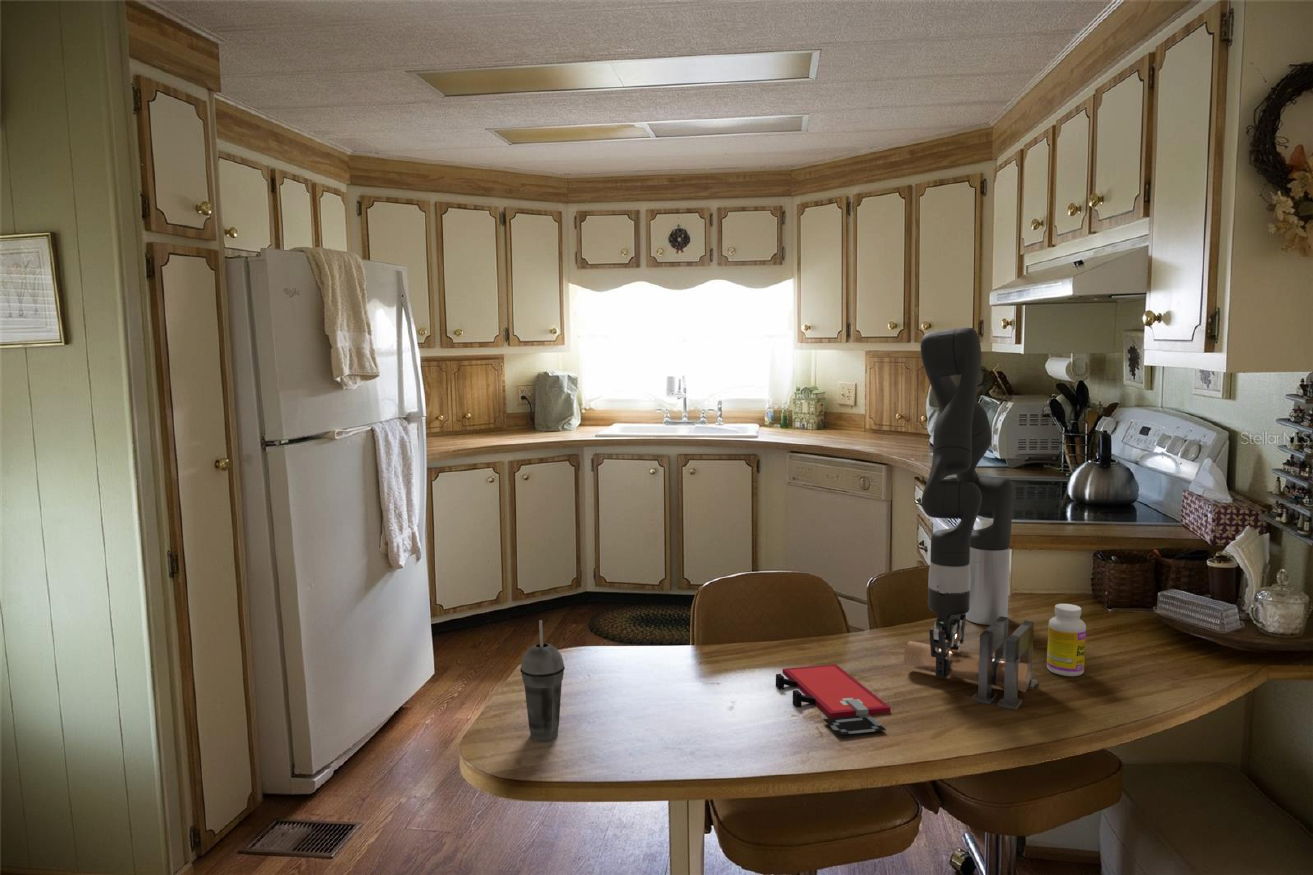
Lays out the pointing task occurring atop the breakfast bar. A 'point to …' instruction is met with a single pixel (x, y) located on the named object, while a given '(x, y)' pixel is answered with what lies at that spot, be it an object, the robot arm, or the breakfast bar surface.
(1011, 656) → the metal stand
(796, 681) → the red board with handle
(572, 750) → the breakfast bar surface
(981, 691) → the metal stand
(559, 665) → the beverage cup
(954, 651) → the tube
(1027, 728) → the breakfast bar surface
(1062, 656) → the supplement bottle
